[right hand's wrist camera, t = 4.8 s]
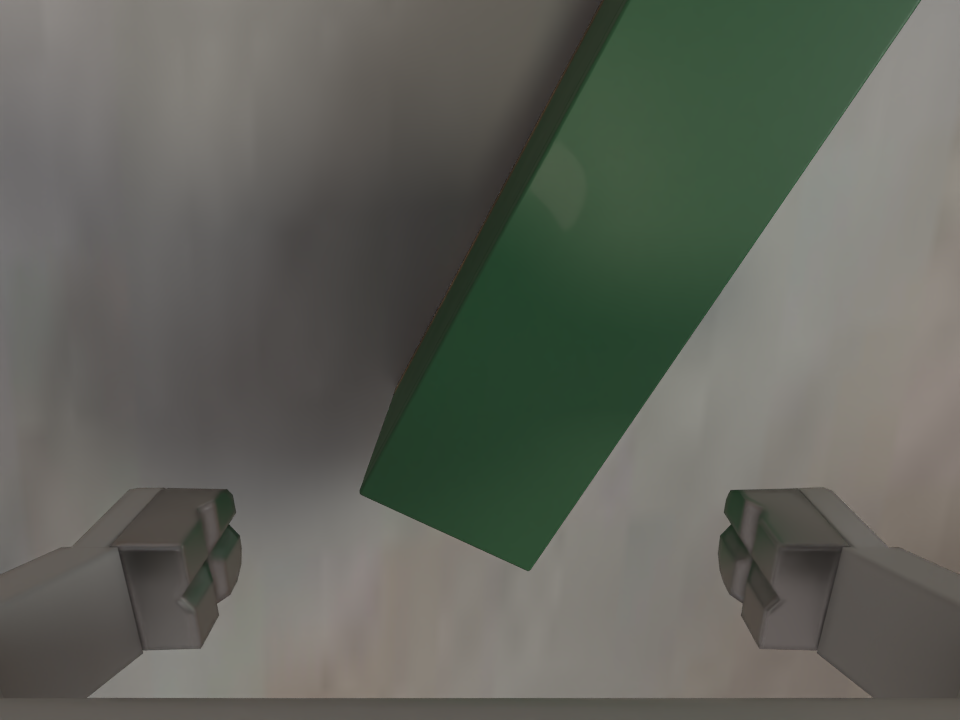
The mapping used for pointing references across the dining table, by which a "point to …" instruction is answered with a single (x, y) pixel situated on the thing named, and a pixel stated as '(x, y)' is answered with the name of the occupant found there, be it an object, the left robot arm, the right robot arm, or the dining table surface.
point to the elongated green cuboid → (612, 251)
